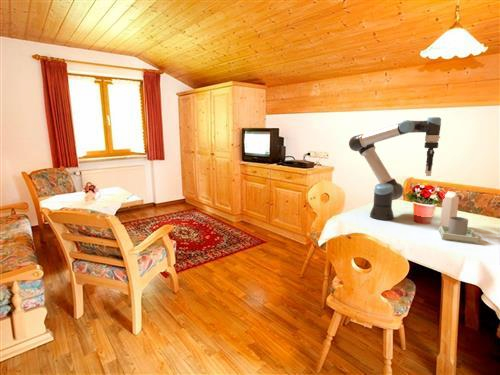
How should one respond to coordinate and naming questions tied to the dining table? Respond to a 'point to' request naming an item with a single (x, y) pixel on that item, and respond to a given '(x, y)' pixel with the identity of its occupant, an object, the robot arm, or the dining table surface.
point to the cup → (458, 226)
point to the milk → (449, 208)
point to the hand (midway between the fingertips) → (427, 174)
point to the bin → (469, 237)
